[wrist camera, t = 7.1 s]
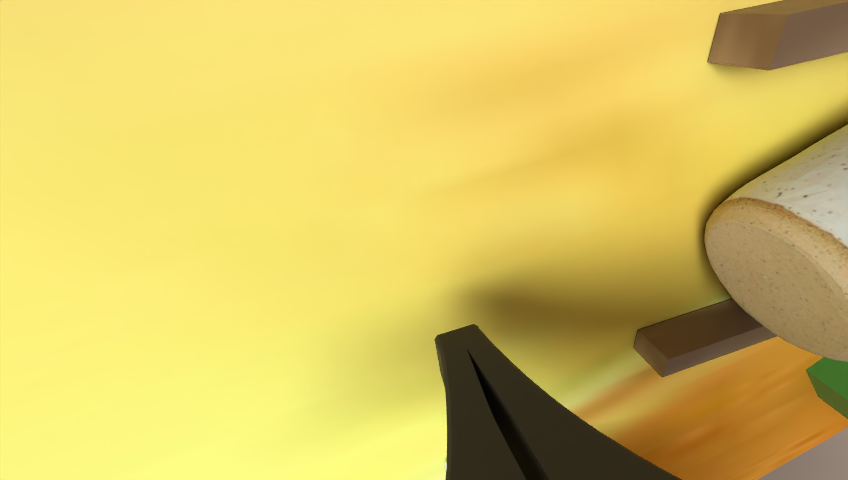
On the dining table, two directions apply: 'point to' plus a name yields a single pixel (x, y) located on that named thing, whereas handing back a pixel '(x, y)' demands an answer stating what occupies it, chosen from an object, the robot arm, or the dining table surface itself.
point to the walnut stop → (761, 49)
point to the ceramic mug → (790, 248)
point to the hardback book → (831, 383)
